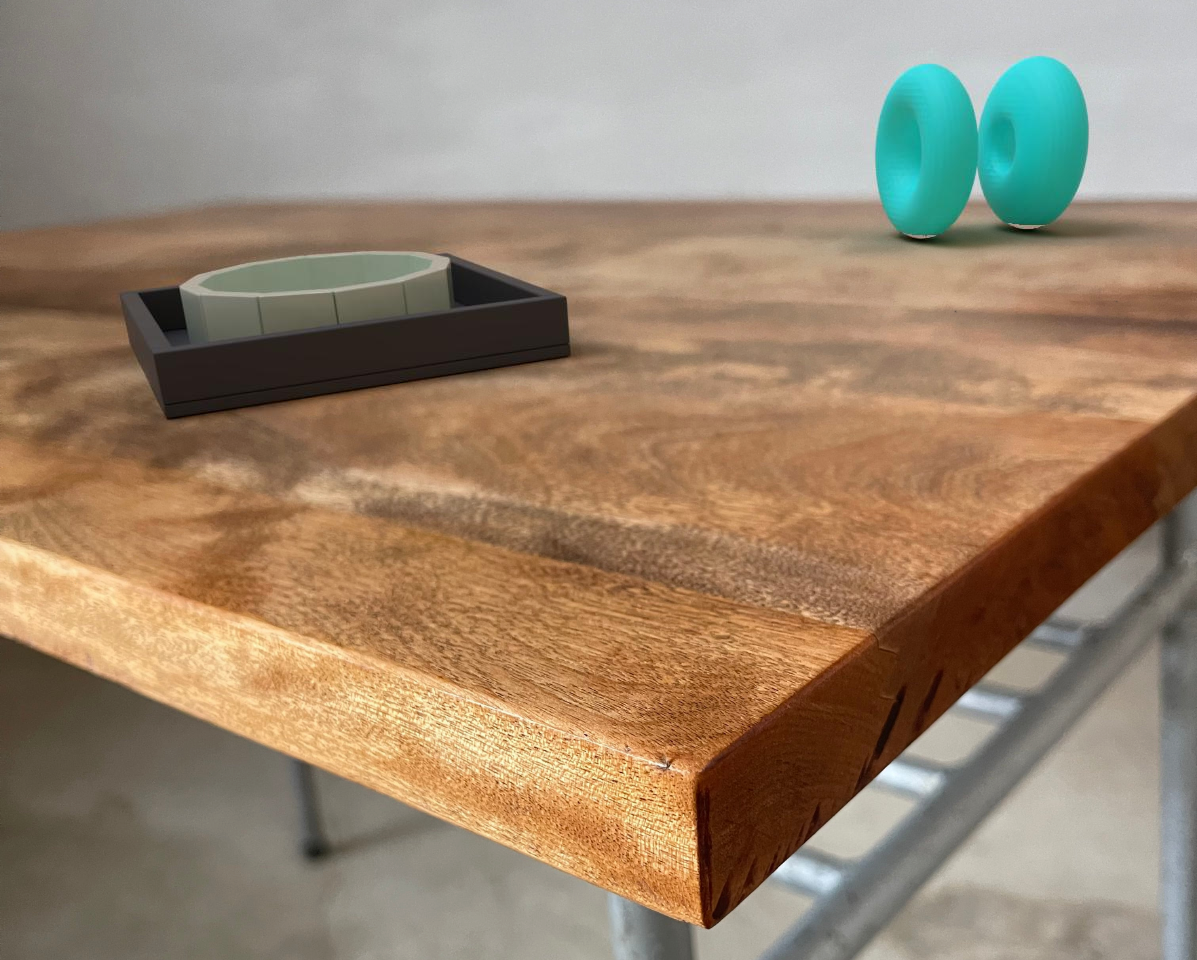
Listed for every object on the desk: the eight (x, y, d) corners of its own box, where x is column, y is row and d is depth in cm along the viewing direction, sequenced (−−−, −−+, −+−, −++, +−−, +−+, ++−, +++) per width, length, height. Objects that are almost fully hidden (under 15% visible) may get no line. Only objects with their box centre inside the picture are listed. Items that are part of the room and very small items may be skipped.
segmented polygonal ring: (165, 377, 51) (150, 303, 50) (228, 322, 62) (217, 260, 60) (447, 357, 51) (438, 284, 50) (461, 306, 62) (455, 244, 61)
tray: (129, 343, 61) (118, 292, 60) (452, 300, 66) (447, 252, 65) (166, 419, 47) (152, 353, 46) (571, 355, 52) (567, 296, 51)
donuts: (865, 231, 81) (870, 65, 77) (1008, 219, 82) (1020, 55, 78) (930, 251, 72) (939, 64, 68) (1089, 236, 73) (1107, 53, 69)
